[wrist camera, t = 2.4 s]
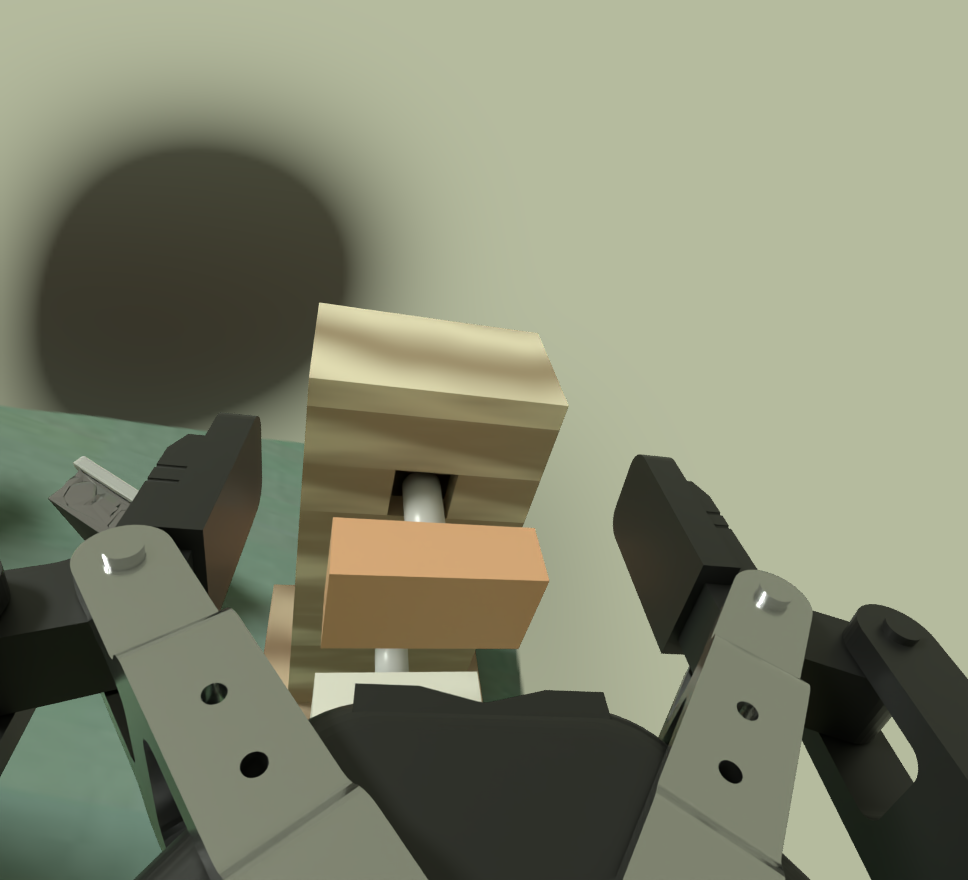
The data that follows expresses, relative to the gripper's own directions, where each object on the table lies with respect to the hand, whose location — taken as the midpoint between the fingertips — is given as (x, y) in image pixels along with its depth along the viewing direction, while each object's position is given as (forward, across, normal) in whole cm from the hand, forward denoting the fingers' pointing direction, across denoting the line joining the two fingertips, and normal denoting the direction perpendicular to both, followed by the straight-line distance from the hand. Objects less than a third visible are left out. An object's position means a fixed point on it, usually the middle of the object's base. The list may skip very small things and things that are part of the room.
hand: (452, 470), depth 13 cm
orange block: (+12, +1, -15) cm, 19 cm away
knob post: (+21, -1, -33) cm, 39 cm away
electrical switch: (+28, -20, -32) cm, 47 cm away
